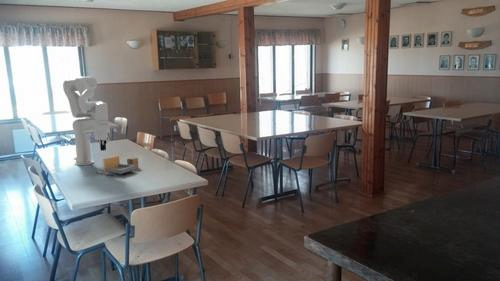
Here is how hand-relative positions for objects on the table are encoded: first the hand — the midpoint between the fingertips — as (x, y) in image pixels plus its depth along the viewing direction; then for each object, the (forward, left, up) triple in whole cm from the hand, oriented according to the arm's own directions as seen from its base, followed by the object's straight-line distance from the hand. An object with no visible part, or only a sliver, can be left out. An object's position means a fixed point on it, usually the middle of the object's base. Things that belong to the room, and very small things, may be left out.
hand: (103, 150), depth 264 cm
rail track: (+10, 0, -14) cm, 17 cm away
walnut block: (+12, +14, -14) cm, 23 cm away
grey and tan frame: (+14, 0, -14) cm, 20 cm away
